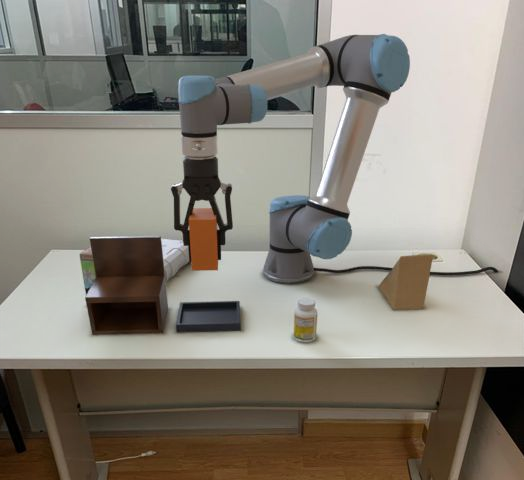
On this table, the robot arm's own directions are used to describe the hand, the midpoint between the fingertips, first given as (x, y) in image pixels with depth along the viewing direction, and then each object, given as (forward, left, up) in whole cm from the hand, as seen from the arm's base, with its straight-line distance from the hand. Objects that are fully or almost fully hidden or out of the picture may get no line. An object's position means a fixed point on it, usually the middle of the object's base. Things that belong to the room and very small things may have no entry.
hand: (205, 258), depth 126 cm
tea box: (+26, -16, -17) cm, 35 cm away
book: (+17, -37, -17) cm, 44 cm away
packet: (0, 0, -1) cm, 1 cm away
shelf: (+19, 0, -17) cm, 25 cm away
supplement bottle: (-23, +10, -17) cm, 30 cm away
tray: (0, 0, -17) cm, 17 cm away
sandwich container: (-52, -11, -17) cm, 56 cm away
